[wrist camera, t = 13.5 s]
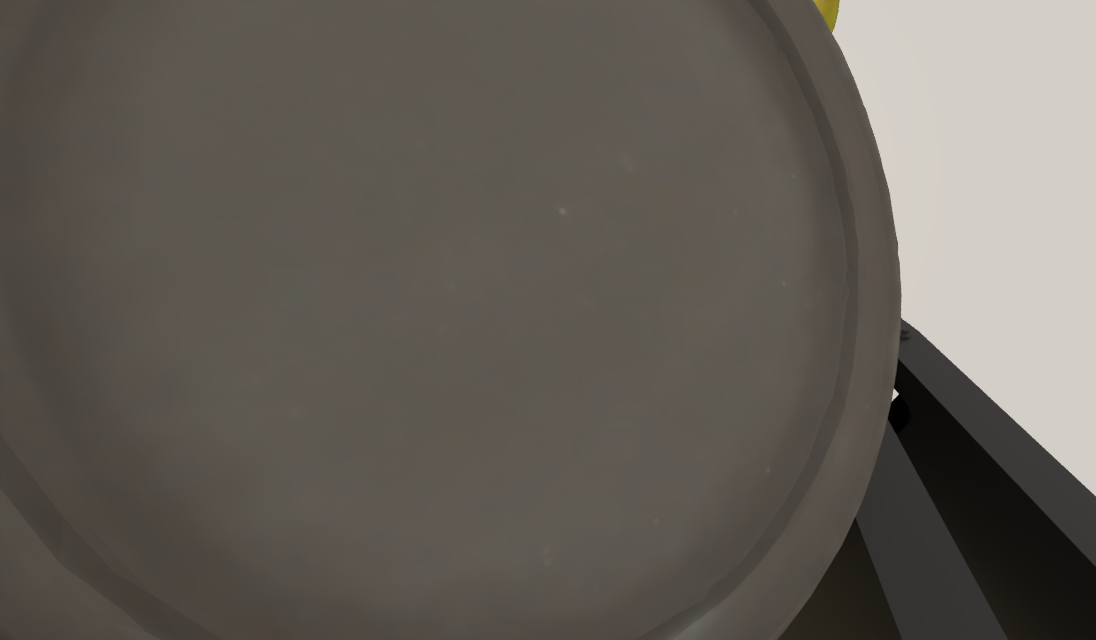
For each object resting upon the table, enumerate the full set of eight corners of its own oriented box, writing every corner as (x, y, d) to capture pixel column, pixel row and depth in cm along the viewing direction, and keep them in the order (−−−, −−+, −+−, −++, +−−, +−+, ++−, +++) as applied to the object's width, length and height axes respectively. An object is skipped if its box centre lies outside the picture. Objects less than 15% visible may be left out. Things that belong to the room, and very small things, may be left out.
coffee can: (394, 148, 18) (423, -499, 4) (589, 302, 20) (985, 180, 7) (202, 361, 15) (-1351, 334, 2) (455, 512, 17) (693, 1009, 4)
